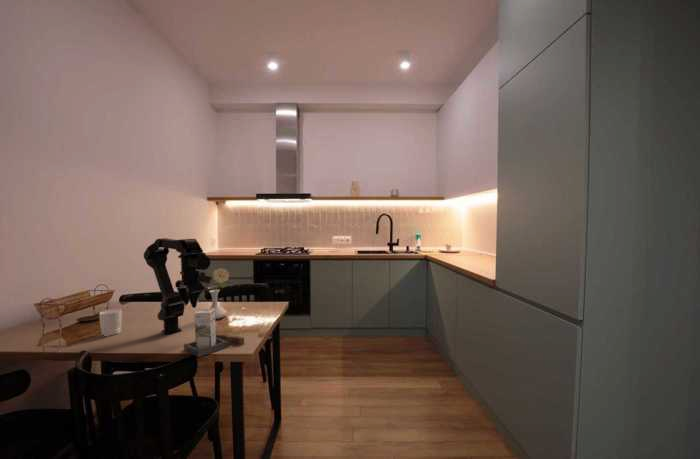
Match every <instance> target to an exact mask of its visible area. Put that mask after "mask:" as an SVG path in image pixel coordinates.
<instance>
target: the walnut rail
mask: <svg viewBox="0 0 700 459" xmlns="http://www.w3.org/2000/svg"><path fill="white" fill-rule="evenodd" d="M216 337H218V338H221V339H223V340H226V341H228V344H233V345H237V346H243V345H245V337H243V336H237V335H231V334H228V333H227V334H226V333H221V332H216Z"/></svg>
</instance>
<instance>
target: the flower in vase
mask: <svg viewBox="0 0 700 459" xmlns="http://www.w3.org/2000/svg"><path fill="white" fill-rule="evenodd" d="M211 277H212V278H211V279H212V280H213V281H214V283H218V284H217V287H216V286H214V285H211V284H208V285H209V287H210V288H211V287H212V288H214V289H212V290H208V292H209V293H210V296H211V301H212V304H211V306H210V307H209V308H208V309H212V308H214V309H215V320H218V319H222V318H224V317H225V316H227V315H228V311H227V310H226V309H224V308H223V307H222V306H220V305H219V304H218V294H219V292H220V291H221V290H220V289H218V288H219V286H220V287H221V288H226V287H228V286H229V285H228V284H227V283H226V281H228V280H229V278H230V273H229V271H228V270H227V269H225V268H221V267H219V268H217V269H215V270H214V271H213V273H212V276H211Z"/></svg>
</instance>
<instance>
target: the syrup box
mask: <svg viewBox="0 0 700 459" xmlns="http://www.w3.org/2000/svg"><path fill="white" fill-rule="evenodd" d="M193 316H194V333H195V335H194V337H195V340H194V341H196V347H195V348H197V349H199V350H201V349H204V348H207V347H210V346H213V345H216V333H217V332H216V319H215V309H214V308H212V309H209V308H202V309H201V308H200V309H198V310H196V311H194V315H193Z"/></svg>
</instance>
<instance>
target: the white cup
mask: <svg viewBox="0 0 700 459" xmlns="http://www.w3.org/2000/svg"><path fill="white" fill-rule="evenodd" d="M122 311H123V309H121V308H116V309H115V308H114V309H107V310H104V311H101V312H99V313H98V315H99V324H100V331H101V336H102V335H104V336H106V335H107V337H109V336H108V335H113V334H117V333H119V334H120V332H121V333H122V323H123V322H122V320H123V317H122V316H123V312H122ZM117 335H118V334H117ZM104 336H103V337H104ZM113 336H114V335H113Z"/></svg>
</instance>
